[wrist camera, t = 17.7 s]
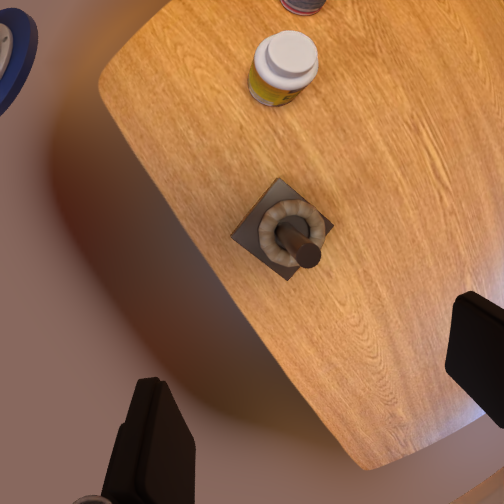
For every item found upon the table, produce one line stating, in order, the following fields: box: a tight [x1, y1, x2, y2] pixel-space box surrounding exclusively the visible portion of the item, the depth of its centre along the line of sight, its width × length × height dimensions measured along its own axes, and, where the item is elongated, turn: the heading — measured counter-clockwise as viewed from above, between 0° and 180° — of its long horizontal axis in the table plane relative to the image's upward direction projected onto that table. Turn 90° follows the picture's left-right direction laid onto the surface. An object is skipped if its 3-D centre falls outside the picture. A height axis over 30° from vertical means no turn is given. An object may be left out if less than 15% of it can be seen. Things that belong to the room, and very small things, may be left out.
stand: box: [230, 178, 334, 281], centre depth 29 cm, size 8×8×11 cm
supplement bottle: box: [248, 30, 318, 106], centre depth 25 cm, size 6×6×10 cm
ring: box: [258, 199, 325, 267], centre depth 32 cm, size 7×7×2 cm
